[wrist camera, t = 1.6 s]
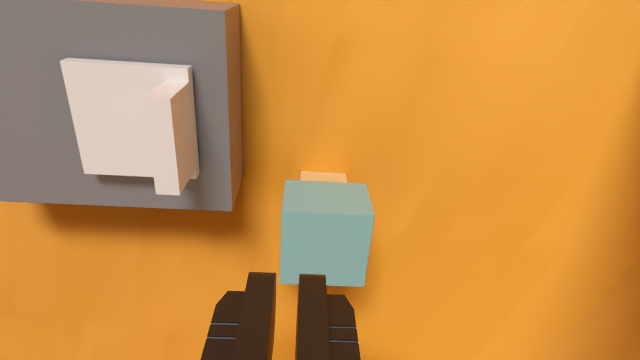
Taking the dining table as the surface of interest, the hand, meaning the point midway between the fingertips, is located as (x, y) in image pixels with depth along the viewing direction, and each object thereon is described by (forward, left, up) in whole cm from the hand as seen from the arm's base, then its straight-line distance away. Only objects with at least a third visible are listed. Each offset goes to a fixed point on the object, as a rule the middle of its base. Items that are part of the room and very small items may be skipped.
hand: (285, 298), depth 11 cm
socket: (+12, 0, -19) cm, 22 cm away
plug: (-2, +7, -19) cm, 20 cm away
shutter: (+9, 0, -14) cm, 16 cm away
